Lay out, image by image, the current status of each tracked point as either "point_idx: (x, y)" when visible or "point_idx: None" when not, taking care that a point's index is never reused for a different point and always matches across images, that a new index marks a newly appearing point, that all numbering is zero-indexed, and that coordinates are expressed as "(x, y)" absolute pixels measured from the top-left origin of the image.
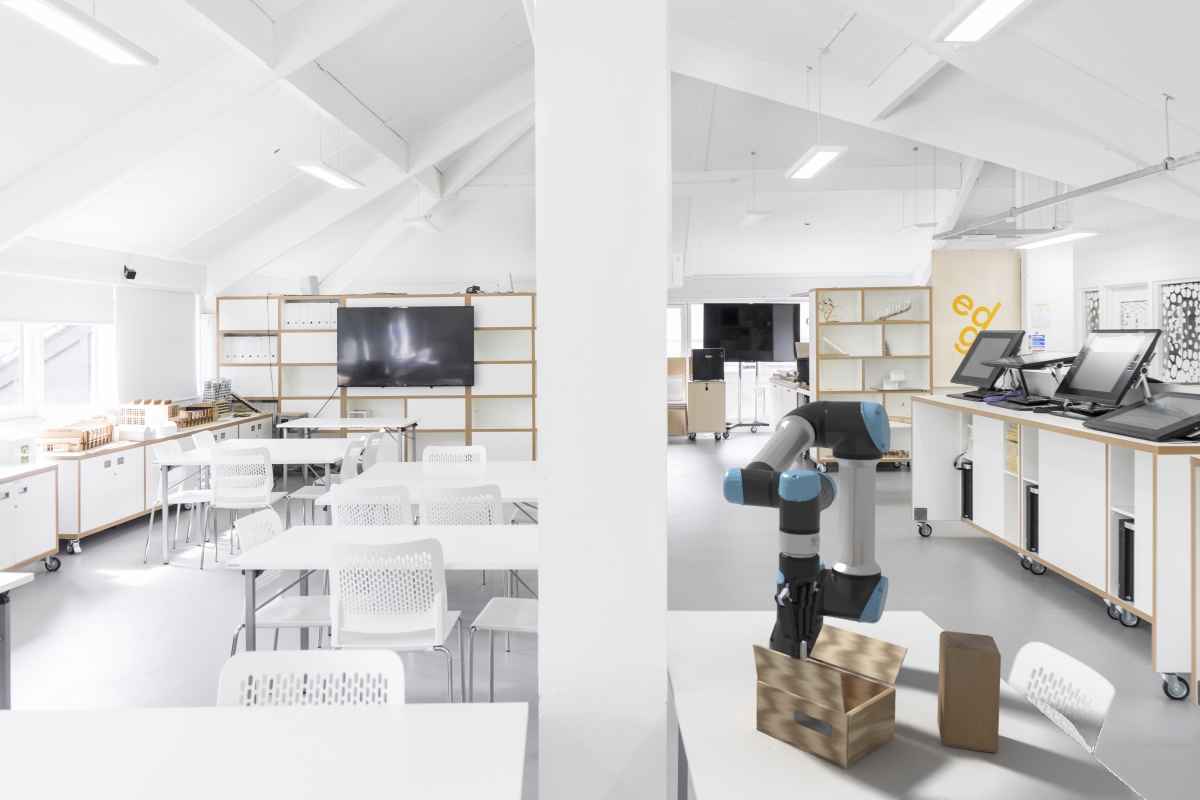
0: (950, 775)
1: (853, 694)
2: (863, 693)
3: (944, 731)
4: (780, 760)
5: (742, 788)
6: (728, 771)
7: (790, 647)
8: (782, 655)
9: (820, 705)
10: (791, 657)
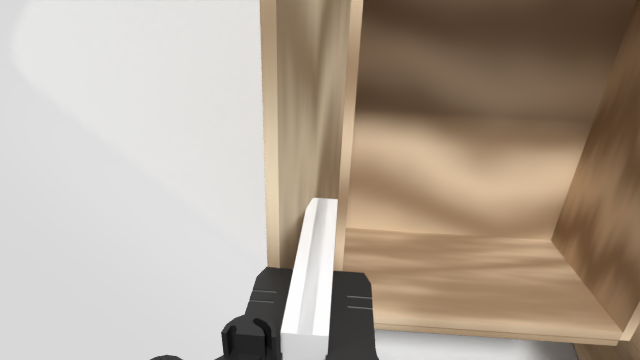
0: (452, 354)
1: (630, 181)
2: (626, 222)
3: (583, 348)
4: (253, 112)
5: (86, 117)
6: (104, 48)
7: (245, 314)
8: (268, 209)
9: (335, 247)
10: (266, 270)
